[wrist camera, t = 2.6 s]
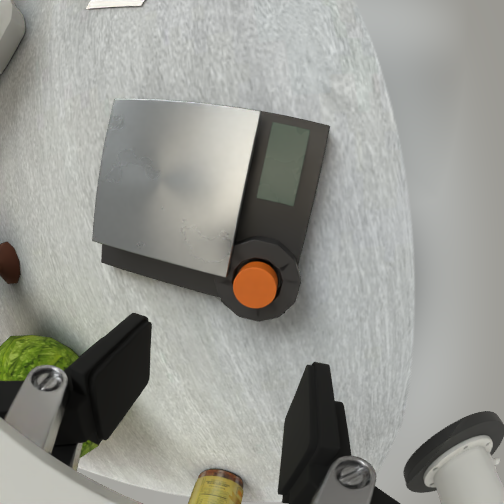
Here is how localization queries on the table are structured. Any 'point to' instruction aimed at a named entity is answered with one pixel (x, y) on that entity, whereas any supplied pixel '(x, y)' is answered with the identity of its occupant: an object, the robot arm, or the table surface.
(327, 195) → the table surface
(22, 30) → the bowl
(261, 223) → the scale
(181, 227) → the scale top
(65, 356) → the lettuce
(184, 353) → the table surface
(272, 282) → the power button
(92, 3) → the coaster
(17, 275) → the ice cream bowl
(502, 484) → the robot arm
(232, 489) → the sauce bottle
